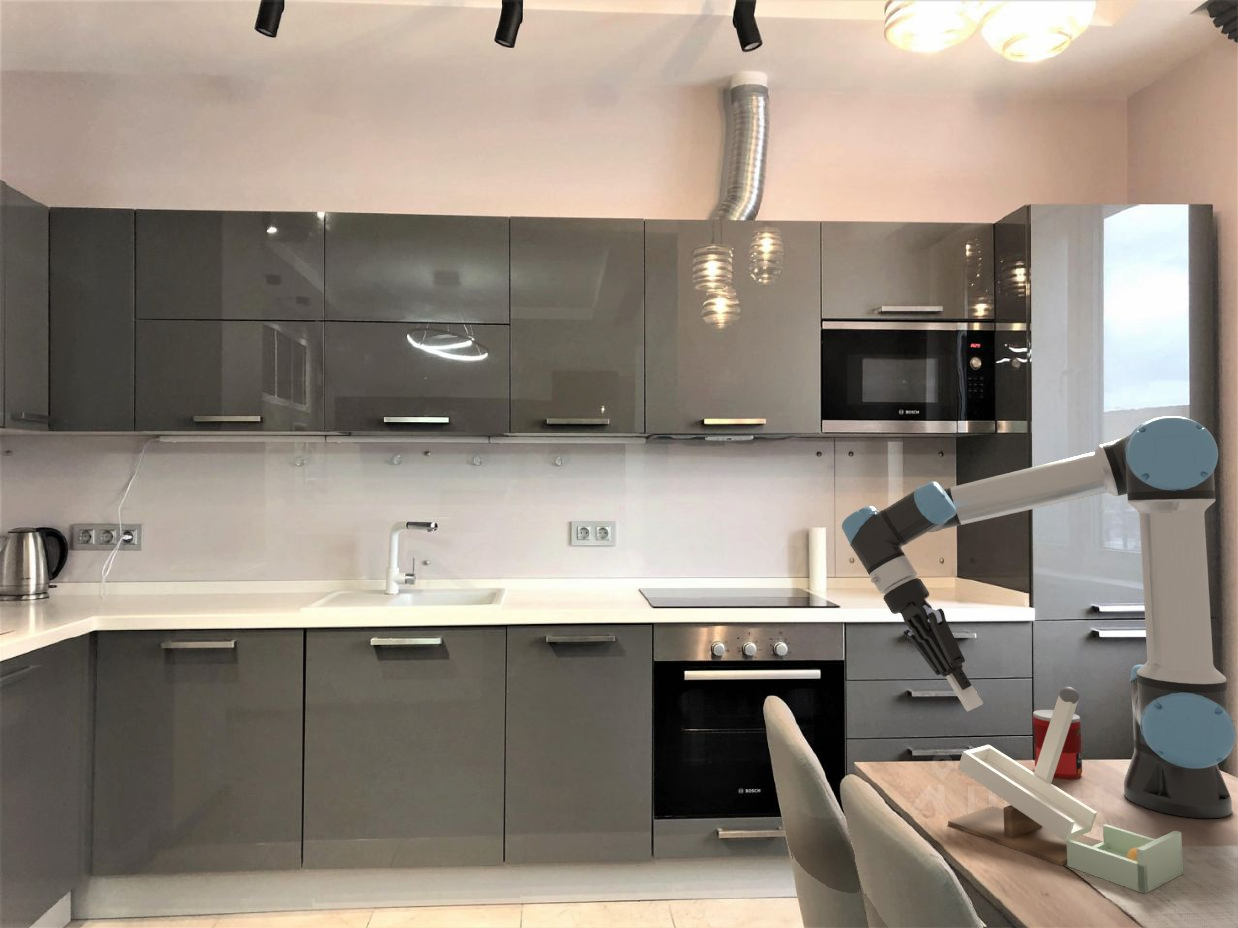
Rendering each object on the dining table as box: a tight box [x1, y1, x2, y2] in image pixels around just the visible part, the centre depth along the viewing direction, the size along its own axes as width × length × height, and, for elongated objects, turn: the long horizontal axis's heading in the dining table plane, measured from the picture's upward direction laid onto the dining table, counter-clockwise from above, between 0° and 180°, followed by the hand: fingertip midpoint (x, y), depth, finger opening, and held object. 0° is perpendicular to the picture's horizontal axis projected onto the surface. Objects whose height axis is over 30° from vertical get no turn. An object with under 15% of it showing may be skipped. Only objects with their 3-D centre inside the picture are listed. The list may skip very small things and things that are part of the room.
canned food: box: [1032, 709, 1083, 780], centre depth 154 cm, size 8×8×11 cm
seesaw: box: [957, 686, 1098, 842], centre depth 123 cm, size 18×9×18 cm, turn 33°
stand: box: [947, 804, 1104, 867], centre depth 124 cm, size 18×12×5 cm, turn 33°
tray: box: [1066, 823, 1184, 895], centre depth 112 cm, size 10×11×6 cm
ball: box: [1127, 848, 1137, 861], centre depth 110 cm, size 3×3×3 cm
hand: (975, 707), depth 138 cm, fingers closed
